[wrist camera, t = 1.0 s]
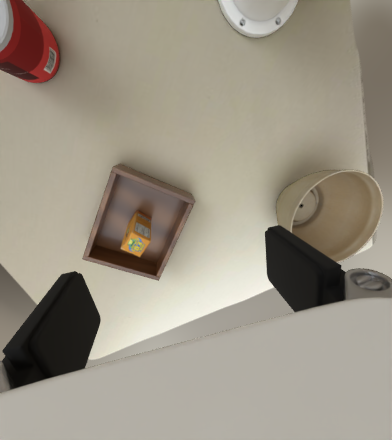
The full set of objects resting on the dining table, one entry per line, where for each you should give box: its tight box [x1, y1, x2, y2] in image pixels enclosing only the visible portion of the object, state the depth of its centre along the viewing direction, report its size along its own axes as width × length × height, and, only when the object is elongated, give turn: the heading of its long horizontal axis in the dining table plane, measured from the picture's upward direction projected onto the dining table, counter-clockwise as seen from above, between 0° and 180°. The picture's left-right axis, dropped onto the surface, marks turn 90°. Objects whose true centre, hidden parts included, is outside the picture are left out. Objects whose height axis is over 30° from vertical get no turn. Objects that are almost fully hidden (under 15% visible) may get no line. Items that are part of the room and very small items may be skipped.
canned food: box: [0, 0, 60, 83], centre depth 24 cm, size 8×8×11 cm
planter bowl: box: [276, 170, 383, 263], centre depth 38 cm, size 16×16×11 cm
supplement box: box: [121, 210, 151, 257], centre depth 34 cm, size 3×3×10 cm
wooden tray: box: [82, 164, 195, 281], centre depth 37 cm, size 17×14×5 cm
